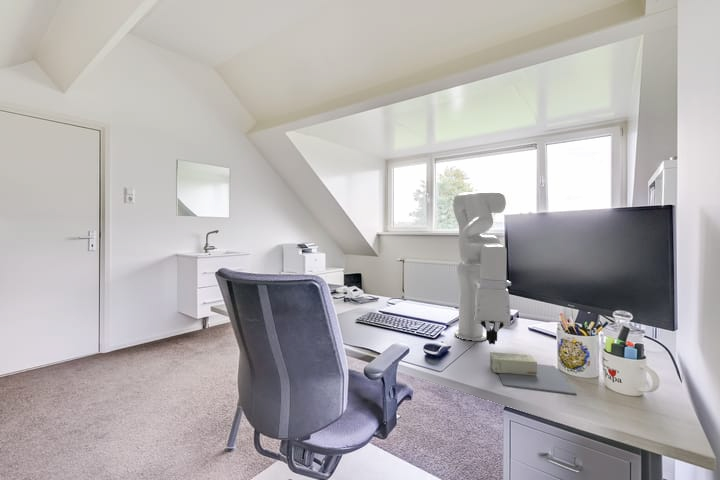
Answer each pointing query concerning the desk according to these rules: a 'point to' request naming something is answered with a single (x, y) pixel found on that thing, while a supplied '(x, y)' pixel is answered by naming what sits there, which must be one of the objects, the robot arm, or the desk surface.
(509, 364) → the skincare box
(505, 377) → the desk mat
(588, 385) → the desk surface
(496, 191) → the robot arm
